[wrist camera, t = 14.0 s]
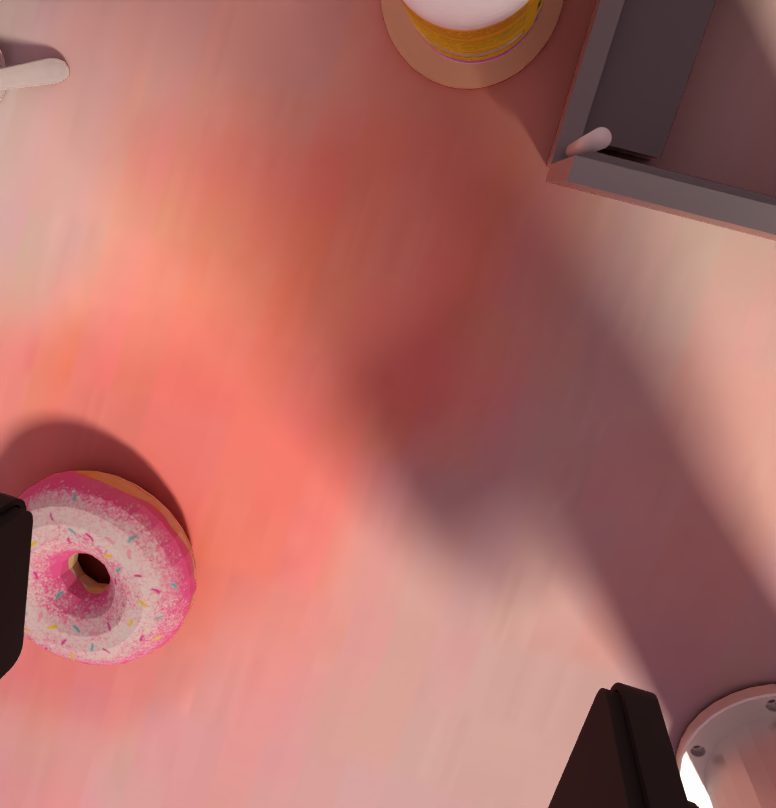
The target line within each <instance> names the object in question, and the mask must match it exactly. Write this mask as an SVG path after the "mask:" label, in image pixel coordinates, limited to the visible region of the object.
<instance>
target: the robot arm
mask: <svg viewBox="0 0 776 808" xmlns="http://www.w3.org/2000/svg"><path fill="white" fill-rule="evenodd" d="M32 529H33V515H32V513H31V512H30V511H27V510H26V504H25V502H24V501H23V500H22V499H19V498H16V497H13V496H10V495H6V494H3V493H0V679H1V678H2V677H3V676H4V675H5V674H6V673H7V672H8V671H9V670H10V669H11V668H12V666H13V665H14V664H15V662H16V661H17V659H18V657H19V655H20V653H21V650H22V646H23V637H24V625H25V613H26V601H27V589H28V577H29V565H30V553H31V541H32ZM548 808H776V684H768V685H762V686H756V687H750V688H747V689H744V690H741V691H738V692H735V693H732V694H730V695H728V696H726V697H724V698H722V699H720V700H718V701H716V702H714V703H713V704H711V705H710V706H709V707H708V708H706V709H705V710H704V711H702V712H701V713H700V714H699V715H698V716H697V717H696V718H695V719H694V720H693V721H692V723H691V724H690V725H689V726H688V728H687V729H686V731H685V733H684V735H683V736H682V738H681V740H680V743H679V747H678V750H677V754H676V759H675V756H674V752H673V749H672V746H671V742H670V739H669V736H668V732H667V729H666V725H665V722H664V719H663V715H662V712H661V709H660V705H659V702H658V699H657V697H656V695H655V694H653V693H651V692H648V691H644V690H641V689H638V688H635V687H631V686H628V685H625V684H622V683H615V684H614V685H613V686H612V688H611V690H608V689H604V688H601V689H600V690H599V691H598V693H597V695H596V697H595V699H594V702H593V704H592V706H591V709H590V711H589V713H588V716H587V718H586V720H585V723H584V725H583V727H582V730H581V732H580V734H579V737H578V739H577V741H576V744H575V746H574V748H573V751H572V753H571V755H570V758H569V760H568V763H567V765H566V767H565V770H564V772H563V774H562V777H561V779H560V781H559V784H558V786H557V788H556V791H555V793H554V795H553V798H552V800H551V802H550V805H549V807H548Z"/></svg>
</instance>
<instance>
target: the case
mask: <svg viewBox="0 0 776 808" xmlns="http://www.w3.org/2000/svg"><path fill="white" fill-rule="evenodd" d="M715 1H716V0H597V1H596V4H595V8H594V11H593V14H592V17H591V21H590V24H589V27H588V31H587V34H586V37H585V41H584V44H583V47H582V51H581V54H580V57H579V60H578V64H577V67H576V70H575V74H574V77H573V80H572V84H571V87H570V90H569V94H568V97H567V100H566V103H565V107H564V110H563V113H562V117H561V120H560V123H559V127H558V130H557V133H556V137H555V140H554V143H553V146H552V150H551V153H550V156H549V160H548V163H547V166H549V167H550V169H549V172H548V175H547V179H546V182H549V183H553V184H557V185H561V186H565V187H569V188H572V189H576V190H580V191H584V192H588V193H592V194H596V195H600V196H603V197H607V198H611V199H615V200H619V201H623V202H627V203H631V204H635V205H638V206H642V207H646V208H650V209H654V210H658V211H662V212H666V213H670V214H673V215H677V216H681V217H685V218H689V219H693V220H697V221H701V222H705V223H708V224H712V225H716V226H720V227H724V228H728V229H732V230H736V231H740V232H743V233H747V234H751V235H755V236H759V237H763V238H767V239H771V240H775V241H776V197H772V196H768V195H764V194H760V193H756V192H752V191H748V190H744V189H740V188H736V187H732V186H728V185H724V184H721V183H717V182H713V181H709V180H705V179H701V178H697V177H693V176H689V175H685V174H681V173H677V172H673V171H669V170H665V169H661V168H657V167H653V166H649V165H645V164H641V163H637V162H633V161H630V160H626V159H622V158H618V157H614V156H610V155H606V154H602V153H598V152H596V151H599V150H602V149H604V148H606V149H610V150H614V151H618V152H622V153H626V154H630V155H634V156H638V157H642V158H646V159H650V160H651V159H658V158H660V157H661V155H662V152H663V149H664V146H665V143H666V140H667V137H668V135H669V132H670V129H671V126H672V123H673V120H674V118H675V115H676V112H677V109H678V106H679V103H680V101H681V98H682V95H683V92H684V89H685V86H686V84H687V81H688V78H689V75H690V72H691V69H692V67H693V64H694V61H695V58H696V55H697V52H698V50H699V47H700V44H701V41H702V38H703V35H704V33H705V30H706V27H707V24H708V21H709V18H710V16H711V13H712V10H713V7H714V4H715Z"/></svg>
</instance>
